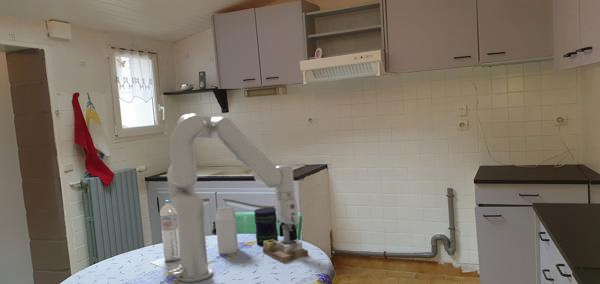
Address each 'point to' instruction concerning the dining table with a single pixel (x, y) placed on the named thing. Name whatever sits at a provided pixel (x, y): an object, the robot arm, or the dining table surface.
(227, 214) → the milk carton
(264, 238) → the storage jar
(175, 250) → the water bottle
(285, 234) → the cylinder
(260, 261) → the dining table surface
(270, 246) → the manifold board
